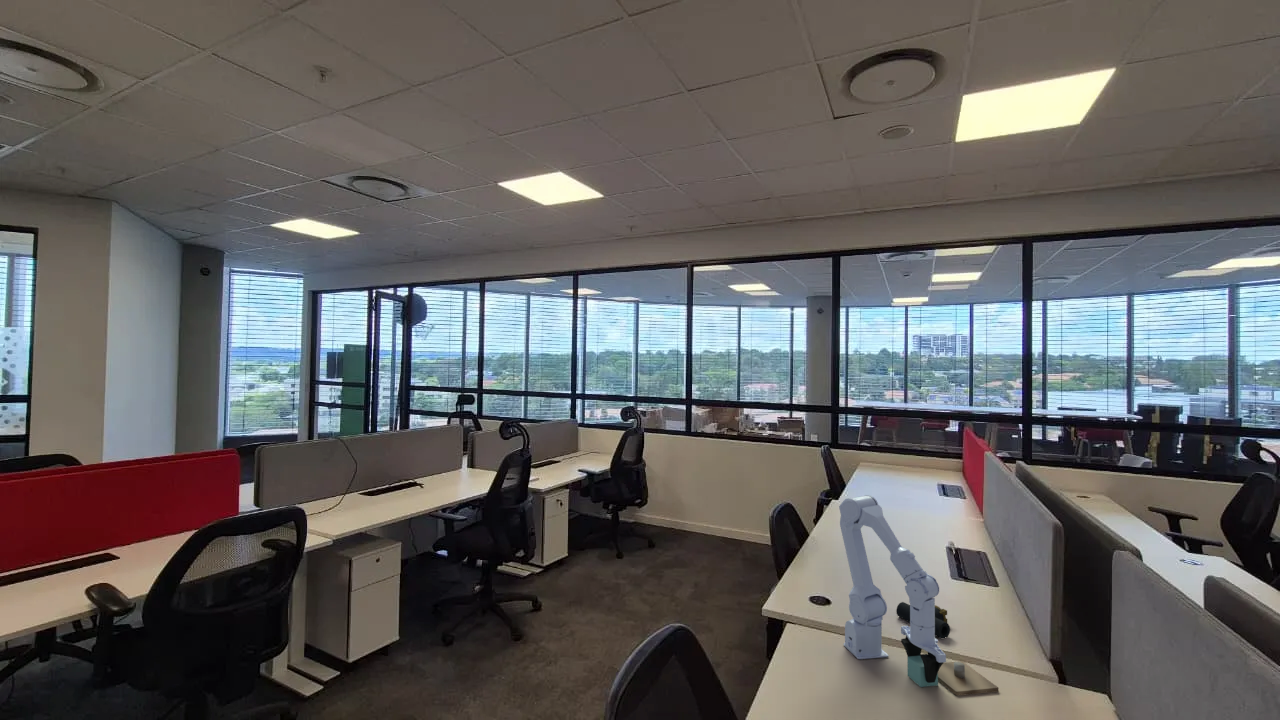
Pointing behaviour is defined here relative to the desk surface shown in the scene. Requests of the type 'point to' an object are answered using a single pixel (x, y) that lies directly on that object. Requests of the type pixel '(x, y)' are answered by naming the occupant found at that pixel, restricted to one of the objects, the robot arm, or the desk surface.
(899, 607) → the pipe connector
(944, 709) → the desk surface
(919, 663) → the teal cube
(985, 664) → the desk surface
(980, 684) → the base plate
